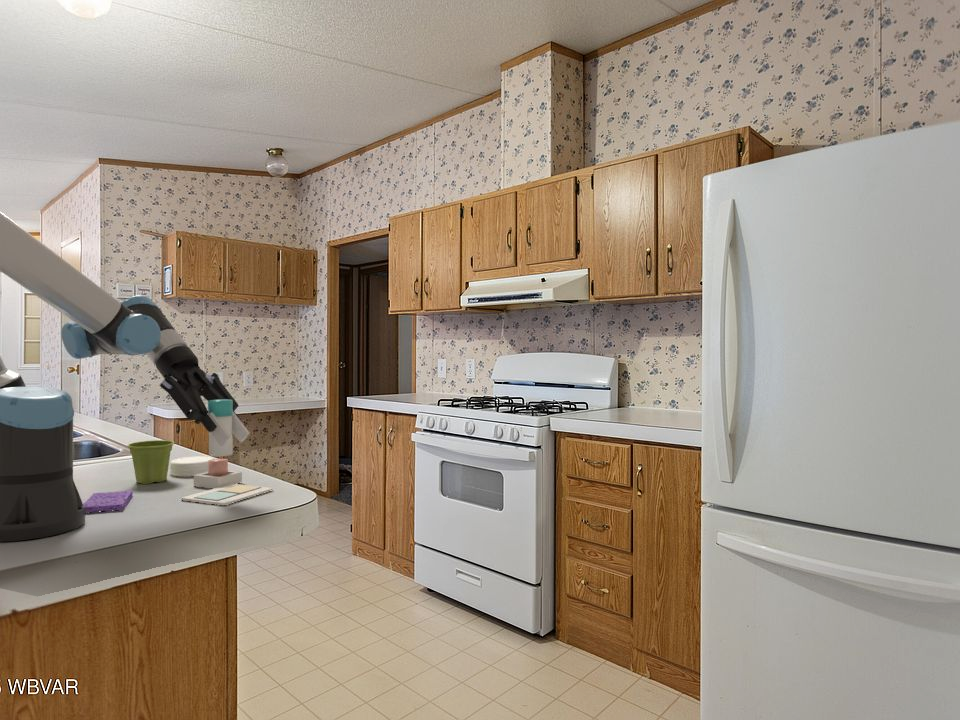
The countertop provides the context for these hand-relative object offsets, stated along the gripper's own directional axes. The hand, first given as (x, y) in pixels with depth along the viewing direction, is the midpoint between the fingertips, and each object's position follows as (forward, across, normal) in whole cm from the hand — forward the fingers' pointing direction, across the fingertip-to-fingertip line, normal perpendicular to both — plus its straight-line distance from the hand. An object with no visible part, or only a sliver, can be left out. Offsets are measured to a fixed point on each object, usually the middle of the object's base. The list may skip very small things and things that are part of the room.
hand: (235, 439), depth 125 cm
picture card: (+6, -2, -12) cm, 13 cm away
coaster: (-11, -17, -30) cm, 36 cm away
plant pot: (-12, -6, -30) cm, 33 cm away
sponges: (-5, +12, -23) cm, 27 cm away
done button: (-2, -9, -17) cm, 19 cm away
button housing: (-1, -9, -18) cm, 20 cm away
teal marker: (0, 0, -5) cm, 5 cm away
